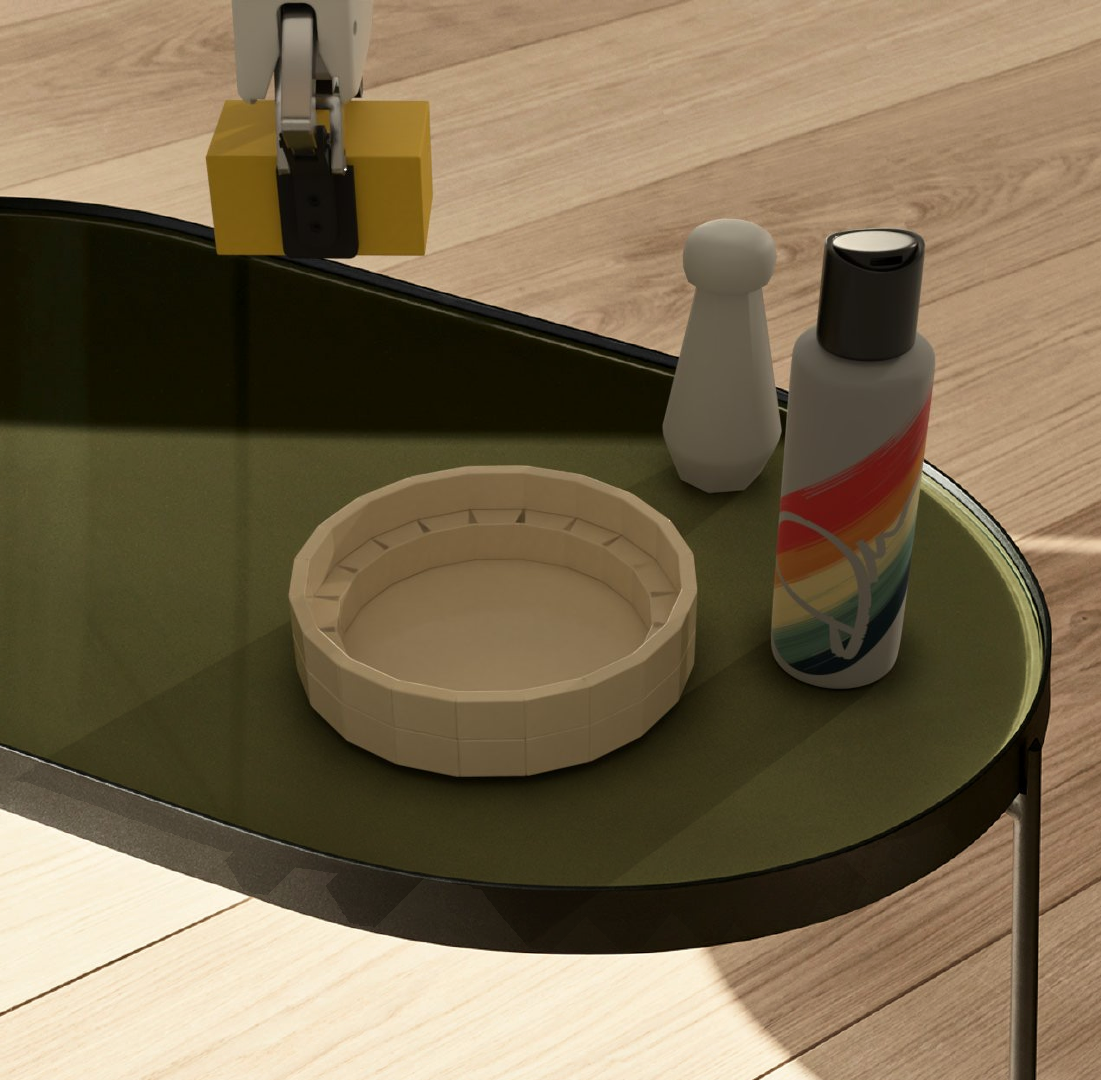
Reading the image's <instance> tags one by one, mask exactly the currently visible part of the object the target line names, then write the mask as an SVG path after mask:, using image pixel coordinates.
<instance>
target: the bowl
mask: <svg viewBox="0 0 1101 1080" xmlns="http://www.w3.org/2000/svg"><path fill="white" fill-rule="evenodd" d="M698 592H699V591H698V581H697V573H696V563H695V555H694V553H693V551H692V550H691V548H690V547H689V545H688V544H687V542H686V541H685V540H684V538H683V537H682V535H681V534H680V532H679V530H678V529H677V528H676V526H675V525H674V523H673V522H672V521H671V520H670V519H669V518H668V517H666V516H665V515H664V514H662V513H661V512H660V511H658V510H656V509H655V508H653V507H652V506H651V505H649V504H648V503H647V502H645V501H644V500H643V499H641V498H639V497H638V496H637V495H635V494H634V493H632V492H630V491H627V490H624V489H622V488H619V487H617V486H614V485H611V484H609V483H606V482H603V481H600V480H598V479H595V478H592V477H589V476H587V475H584V474H581V473H575V472H569V471H564V470H556V469H551V468H543V467H538V466H532V465H522V464H521V465H520V464H519V465H515V464H514V465H466V466H460V467H455V468H450V469H443V470H439V471H432V472H428V473H427V472H426V473H422V474H417V475H412V476H409V477H406V478H403V479H400V480H398V481H396V482H393V483H390V484H388V485H385V486H383V487H380V488H377V489H375V490H373V491H369V492H368V493H365V494H362V495H359V497H356V498H355V499H353V500H352V501H351V502H350V503H348V504H346V505H344V507H342V508H341V509H339V510H337V512H335V513H334V514H332V515H331V516H330V517H328V518H327V519H325V520H324V521H322V522H321V523H320V524H318V525H317V527H316V528H315V529H314V530H313V532H312V533H311V535H310V536H309V537H308V539H307V540H306V541H305V543H304V544H303V546H302V547H301V548H300V550H299V551H298V553H297V554H296V556H295V557H294V559H293V564H292V569H291V576H290V582H289V590H288V596H287V597H288V605H289V615H290V622H291V623H290V624H291V631H292V640H293V648H294V658H295V666H296V671H297V673H298V676H299V679H300V681H301V683H302V686H303V689H304V692H305V695H306V697H307V700H308V702H309V705H310V706H311V708H312V709H313V710H314V711H315V712H317V714H318V715H320V716H321V717H322V719H323V720H324V721H326V723H328V724H329V725H330V726H331V728H333V729H334V730H335V731H336V732H337V733H338V734H339V735H340V736H341V737H342V738H343V739H344V740H345V741H347V742H348V743H351V744H353V745H355V746H357V747H359V748H361V749H363V750H366V751H367V752H370V753H372V754H374V755H376V756H378V757H380V758H382V759H384V760H386V761H388V762H390V763H393V764H395V765H398V766H402V767H407V768H412V769H418V770H422V771H427V772H431V773H437V774H442V775H447V776H451V777H456V778H459V777H461V778H463V777H464V778H465V777H466V778H467V777H469V778H472V777H474V778H476V777H526V776H532V775H538V774H543V773H546V772H547V773H548V772H552V771H555V770H559V769H564V768H569V767H573V766H577V765H582V764H587V763H590V762H593V761H595V760H598V759H599V758H601V757H603V756H605V755H607V754H610V753H611V752H613V751H615V750H618V749H619V748H622V747H623V746H625V745H627V744H629V743H631V742H633V741H635V740H637V739H639V738H642V736H644V735H645V734H646V733H647V732H648V731H649V730H650V729H651V728H652V727H654V725H655V724H656V723H658V722H659V721H660V720H661V719H662V718H663V717H664V716H666V714H667V713H668V712H669V711H670V710H671V709H672V708H673V707H674V706H675V705H676V704H677V703H678V702H679V701H680V699H681V696H682V694H683V691H684V689H685V686H686V684H687V682H688V679H689V677H690V675H691V672H692V671H693V667H694V665H695V659H696V658H695V655H696V636H697V635H696V633H697V631H696V630H697V613H698V612H697V610H698Z"/></svg>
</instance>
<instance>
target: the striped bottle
mask: <svg viewBox="0 0 1101 1080" xmlns="http://www.w3.org/2000/svg"><path fill="white" fill-rule="evenodd" d="M823 246H824V247H823V256H822V267H821V277H820V285H819V286H820V287H819V295H818V296H819V297H818V308H817V317H816V324H814V325H812V326H810V327H808V328H807V329H806V330H804V331H803V332H802V333H800V335H799V336H798V337H797V339H796V340H795V342H794V345H793V347H792V353H791V360H790V361H791V362H790V369H789V370H790V371H789V383H788V397H787V409H786V422H785V423H786V424H785V434H784V435H785V436H784V450H783V461H782V463H783V464H782V474H781V475H782V476H781V491H780V500H779V501H780V502H779V514H778V515H779V516H778V529H777V542H776V555H775V568H774V569H775V570H774V581H773V582H774V583H773V594H772V595H773V597H772V610H771V627H770V629H771V631H770V642H771V643H770V645H771V651H772V655H773V657H774V659H775V661H776V662H777V664H778V665H779V666H780V668H781V669H783V670H784V672H786V673H787V674H788V675H790V676H791V677H792V678H794V679H796V680H798V681H800V682H803V683H806V684H809V685H811V686H816V687H820V688H826V689H838V690H839V689H841V690H842V689H843V690H844V689H845V690H846V689H853V688H860V687H863V686H866V685H870V684H872V683H875V682H876V681H879V680H880V679H881V678H883V677H884V676H886V675H887V674H888V673H889V672H890V671H891V670H892V668H893V667H894V665H895V663H896V661H897V658H898V655H899V649H900V647H901V646H900V644H901V639H902V634H903V633H902V632H903V626H904V619H905V610H906V602H907V595H908V587H909V579H910V571H911V563H912V556H913V547H914V541H915V540H914V539H915V532H916V524H917V516H918V508H919V500H920V493H921V492H920V491H921V485H922V478H923V477H922V476H923V471H924V470H923V468H924V462H925V453H926V446H927V438H928V437H927V436H928V429H929V422H930V416H931V415H930V414H931V405H932V398H933V389H934V381H935V373H936V354H935V350H934V347H933V346H932V344H931V343H930V341H929V340H928V339H927V338H926V337H925V336H924V335H922V333H920V332H918V321H919V312H920V304H921V303H920V302H921V292H922V284H923V283H922V282H923V274H924V263H925V255H926V243H925V240H924V238H923V237H922V235H920V234H919V233H917V232H916V231H914V230H910V229H906V228H900V227H868V228H867V227H866V228H856V229H847V230H842V231H836V232H833V233H830V234H829V235H827V237H826V238H825V240H824V245H823Z"/></svg>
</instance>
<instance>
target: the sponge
mask: <svg viewBox="0 0 1101 1080" xmlns="http://www.w3.org/2000/svg"><path fill="white" fill-rule="evenodd" d="M316 115H317V119H318V125H325V127H326V129H327V133H330V115H329V110H316ZM345 131H346V165H354V178H355V193H356V208H357V223H358V238H359V249H358V253H357V255H356V256H361V257H363V256H369V257H370V256H373V257H374V256H375V257H376V256H377V257H378V256H379V257H381V256H385V257H387V256H389V257H391V256H393V257H395V256H396V257H425V255H426V249H427V244H428V243H427V242H428V234H429V228H430V220H431V213H432V206H433V198H434V188H433V162H432V161H433V160H432V141H431V140H432V138H431V115H430V101H428V100H351V101H349V102H348V103H346V104H345ZM329 140H330V139H329ZM209 143H210V144H209V146H208V149H207V151H206V156H205V163H206V173H207V181H208V190H209V199H210V206H211V215H212V224H213V233H214V242H215V249H216V254H217V255H219V256H286V255H285V254H284V251H283V243H282V232H281V221H280V211H279V200H278V189H277V179H276V167H277V142H276V115H275V99H265V100H262V99H257V101H256V103H255V104H247V103H246V102H245V101H244V100H243V99H226V100H224V103H223V107H222V109H221V112H220V115H219V118H218V120H217V124H216V126H215V129H214V132H213V135H212V137H211V141H210V142H209Z"/></svg>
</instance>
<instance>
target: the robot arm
mask: <svg viewBox="0 0 1101 1080" xmlns="http://www.w3.org/2000/svg"><path fill="white" fill-rule="evenodd" d="M373 11H374V0H231V13H232V27H233V29H232V30H233V41H234V42H233V43H234V58H235V59H234V61H235V77H236V89H237V94H238V96H239V97H240V98H241V100H244V101H245V102H246V103H247V104H255V103H256V101H257V100H266V97H267V94H268V91H269V88H270V84H271V81H272V79H273V83H274V85H273V86H274V100H275V115H276V142H277V167H276V179H277V189H278V200H279V211H280V221H281V232H282V243H283V251H284V254H285V255H284V256H286V257H287V258H289V259H292V260H293V259H296V260H297V259H298V260H299V259H303V260H304V259H305V260H308V259H309V260H310V259H311V260H320V259H321V260H351V259H354V258H356V257H357V256H358V255H357V253H358V249H359V238H358V223H357V208H356V193H355V178H354V165H346V131H345V104H346V103H348V102H349V101H352V100H353V99H363V97H364V70H365V66H366V61H367V56H368V53H369V52H368V51H369V47H370V42H371V36H372V31H373V30H372V29H373V18H374V17H373V14H374V13H373ZM316 110H329V115H330V133H327V129H326V127H325V125H318V119H317V115H316ZM329 139H330V140H329Z"/></svg>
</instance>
